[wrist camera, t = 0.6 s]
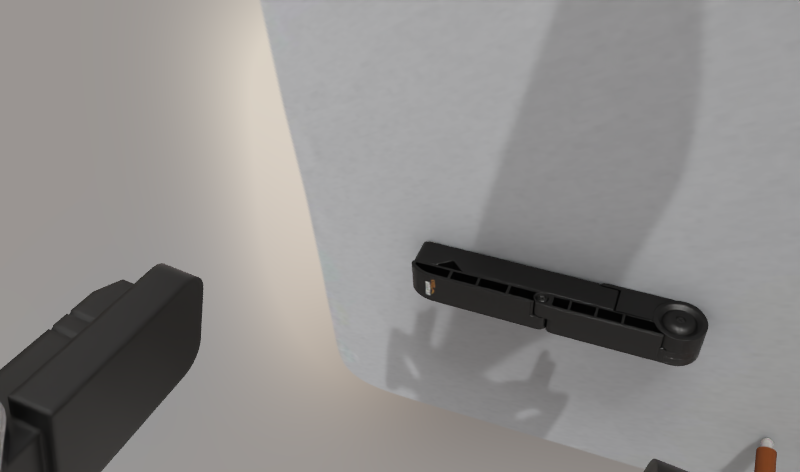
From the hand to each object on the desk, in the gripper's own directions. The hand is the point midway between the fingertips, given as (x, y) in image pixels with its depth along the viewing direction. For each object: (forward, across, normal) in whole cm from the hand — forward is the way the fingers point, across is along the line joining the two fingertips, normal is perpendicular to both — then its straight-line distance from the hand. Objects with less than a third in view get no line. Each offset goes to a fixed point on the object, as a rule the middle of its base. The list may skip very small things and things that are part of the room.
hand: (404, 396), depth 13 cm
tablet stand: (+31, -3, +18) cm, 36 cm away
